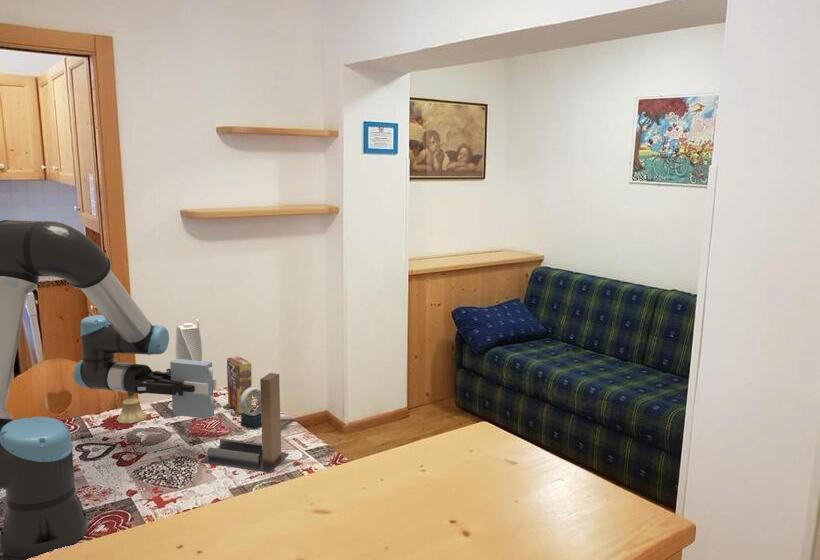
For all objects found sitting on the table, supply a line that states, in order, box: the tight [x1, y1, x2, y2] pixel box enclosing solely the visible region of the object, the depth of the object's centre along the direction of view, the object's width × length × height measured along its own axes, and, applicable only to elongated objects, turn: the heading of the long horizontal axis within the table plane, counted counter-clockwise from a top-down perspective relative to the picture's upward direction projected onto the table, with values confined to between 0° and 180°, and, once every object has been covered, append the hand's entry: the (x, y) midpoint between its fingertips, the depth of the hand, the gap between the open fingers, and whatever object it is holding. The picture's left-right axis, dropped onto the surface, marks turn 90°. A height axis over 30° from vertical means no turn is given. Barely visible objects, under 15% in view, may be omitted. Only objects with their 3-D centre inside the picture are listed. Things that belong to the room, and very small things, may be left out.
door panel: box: [169, 358, 215, 420], centre depth 163 cm, size 3×11×14 cm, turn 76°
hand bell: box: [116, 392, 148, 424], centre depth 186 cm, size 8×8×16 cm
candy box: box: [226, 356, 253, 415], centre depth 194 cm, size 9×4×15 cm, turn 39°
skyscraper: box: [175, 318, 203, 361], centre depth 193 cm, size 8×8×28 cm
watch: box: [240, 386, 262, 430], centre depth 183 cm, size 6×8×11 cm
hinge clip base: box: [200, 372, 289, 473], centre depth 160 cm, size 10×19×22 cm, turn 75°
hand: (211, 386), depth 162 cm, fingers closed on door panel, 3 cm apart
